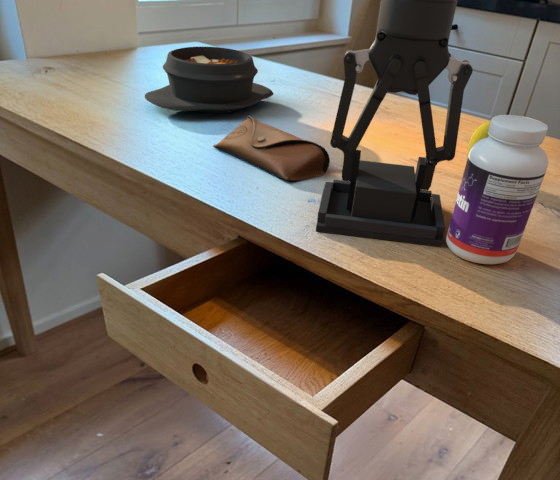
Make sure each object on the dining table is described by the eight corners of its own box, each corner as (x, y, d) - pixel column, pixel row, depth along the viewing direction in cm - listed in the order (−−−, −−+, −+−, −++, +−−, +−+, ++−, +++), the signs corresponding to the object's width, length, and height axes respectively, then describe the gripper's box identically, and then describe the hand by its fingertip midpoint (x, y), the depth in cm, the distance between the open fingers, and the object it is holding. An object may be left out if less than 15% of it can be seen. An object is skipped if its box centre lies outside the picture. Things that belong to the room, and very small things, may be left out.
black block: (407, 200, 74) (414, 166, 71) (408, 230, 67) (416, 193, 64) (354, 194, 75) (359, 159, 72) (350, 223, 68) (355, 186, 65)
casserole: (182, 129, 93) (179, 73, 88) (126, 101, 104) (120, 50, 98) (294, 109, 107) (297, 59, 101) (234, 86, 117) (235, 39, 112)
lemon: (497, 184, 83) (515, 127, 78) (459, 177, 84) (474, 121, 79) (499, 172, 87) (516, 117, 82) (463, 165, 88) (477, 111, 83)
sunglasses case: (207, 144, 87) (225, 101, 85) (237, 160, 93) (254, 120, 91) (289, 182, 78) (310, 134, 76) (316, 196, 83) (336, 153, 81)
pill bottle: (446, 231, 70) (479, 106, 60) (513, 243, 68) (557, 117, 59) (441, 260, 64) (477, 127, 54) (514, 274, 62) (564, 140, 53)
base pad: (435, 206, 75) (439, 191, 74) (441, 247, 66) (446, 231, 65) (324, 193, 77) (326, 178, 75) (315, 231, 67) (317, 215, 66)
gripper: (317, -16, 54) (298, 212, 69) (529, 4, 52) (463, 232, 67) (324, -23, 60) (305, 188, 74) (516, -6, 58) (457, 207, 73)
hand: (380, 209), depth 71 cm, fingers closed on black block, 7 cm apart
